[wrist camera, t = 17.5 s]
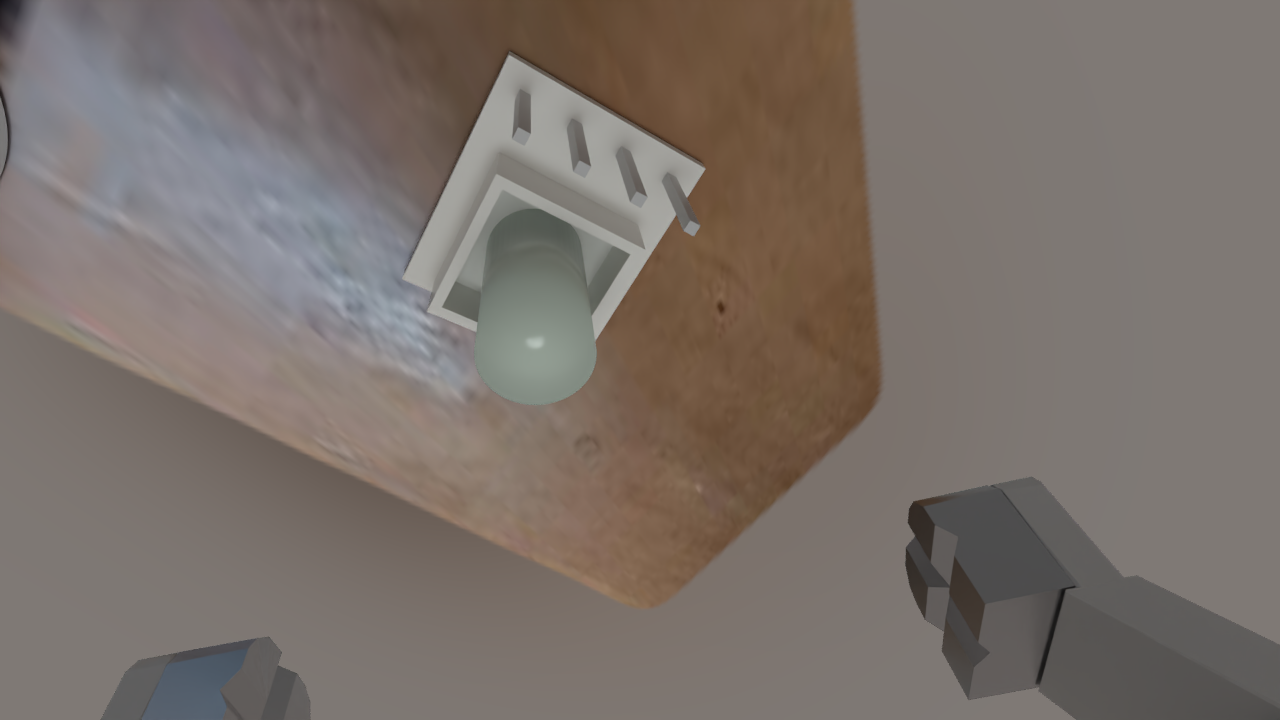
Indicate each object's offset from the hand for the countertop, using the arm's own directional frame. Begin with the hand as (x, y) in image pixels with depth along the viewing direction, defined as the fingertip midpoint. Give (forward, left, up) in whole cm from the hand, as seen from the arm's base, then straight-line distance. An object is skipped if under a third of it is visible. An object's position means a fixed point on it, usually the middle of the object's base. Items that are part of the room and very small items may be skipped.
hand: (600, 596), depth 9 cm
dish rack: (-2, -8, -34) cm, 35 cm away
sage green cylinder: (-3, -10, -33) cm, 35 cm away
